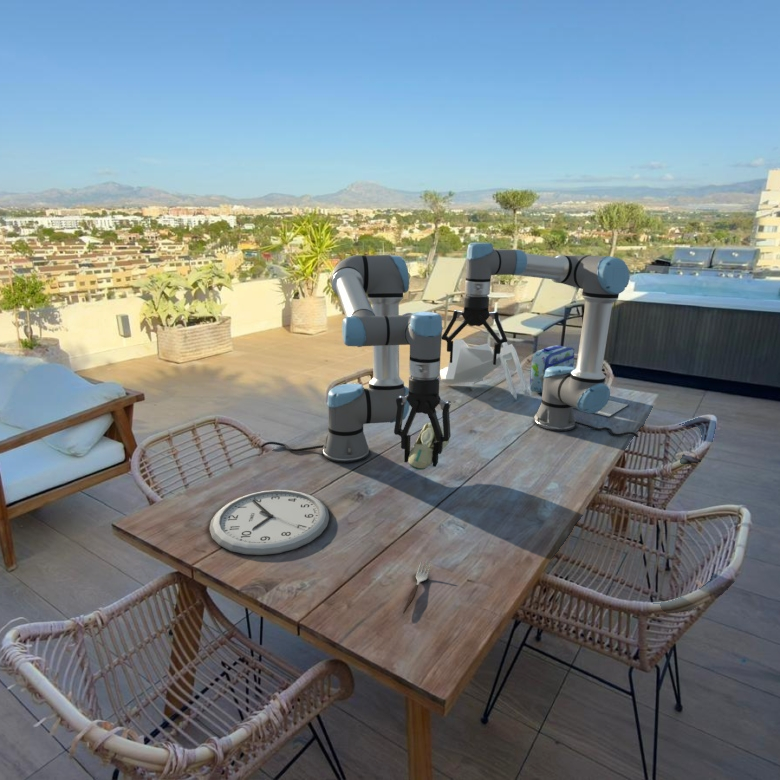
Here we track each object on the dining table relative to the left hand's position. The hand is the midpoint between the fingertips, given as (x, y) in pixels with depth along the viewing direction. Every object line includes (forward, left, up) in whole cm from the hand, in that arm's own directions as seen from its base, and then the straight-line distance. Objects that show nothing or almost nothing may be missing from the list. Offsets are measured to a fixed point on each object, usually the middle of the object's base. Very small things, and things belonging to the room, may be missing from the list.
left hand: (421, 462), depth 135 cm
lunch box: (0, +133, -15) cm, 134 cm away
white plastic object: (-27, +111, -15) cm, 115 cm away
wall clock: (-31, -23, -15) cm, 42 cm away
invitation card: (+25, +121, -15) cm, 124 cm away
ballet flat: (-1, +8, -1) cm, 8 cm away
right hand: (-4, +42, +17) cm, 45 cm away
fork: (+14, -28, -15) cm, 34 cm away
